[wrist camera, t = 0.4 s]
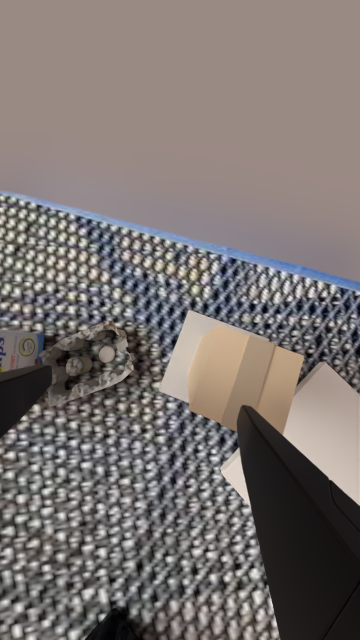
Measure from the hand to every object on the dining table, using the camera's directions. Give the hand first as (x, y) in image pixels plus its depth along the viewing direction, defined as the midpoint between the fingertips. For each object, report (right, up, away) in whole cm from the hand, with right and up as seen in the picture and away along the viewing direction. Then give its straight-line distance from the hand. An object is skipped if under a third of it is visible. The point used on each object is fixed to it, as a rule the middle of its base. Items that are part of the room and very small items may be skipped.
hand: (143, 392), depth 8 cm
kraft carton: (+6, -2, +14) cm, 16 cm away
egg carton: (-9, -2, +16) cm, 19 cm away
